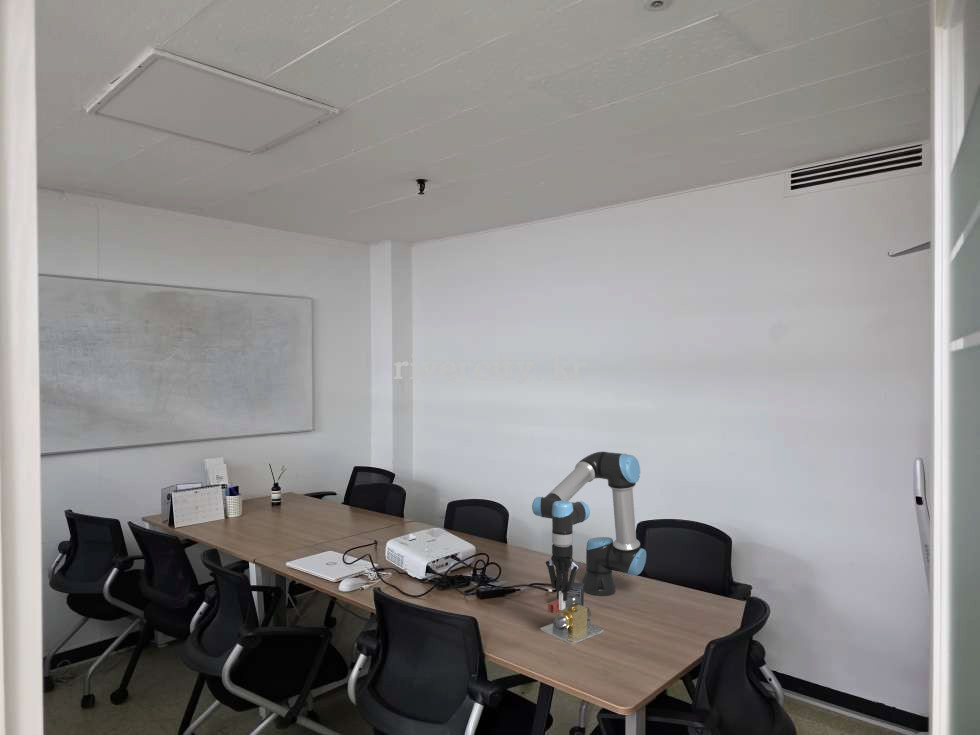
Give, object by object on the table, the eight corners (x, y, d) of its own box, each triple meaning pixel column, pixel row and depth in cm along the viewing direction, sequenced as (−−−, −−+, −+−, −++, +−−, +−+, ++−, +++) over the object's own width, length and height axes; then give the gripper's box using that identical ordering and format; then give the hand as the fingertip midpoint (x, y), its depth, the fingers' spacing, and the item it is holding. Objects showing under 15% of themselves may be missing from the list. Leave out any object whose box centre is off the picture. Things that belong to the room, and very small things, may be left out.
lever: (571, 600, 241) (571, 592, 241) (580, 603, 237) (580, 595, 237) (545, 611, 230) (546, 602, 230) (555, 614, 227) (555, 606, 227)
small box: (584, 607, 261) (584, 582, 261) (582, 613, 255) (582, 587, 255) (558, 604, 264) (559, 579, 264) (556, 610, 258) (556, 584, 258)
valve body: (571, 618, 249) (572, 593, 249) (603, 631, 237) (604, 605, 237) (540, 630, 238) (540, 603, 238) (571, 644, 225) (572, 617, 225)
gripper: (582, 544, 229) (582, 609, 229) (551, 539, 236) (551, 602, 236) (573, 549, 223) (573, 615, 223) (542, 543, 230) (541, 608, 230)
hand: (562, 608), depth 229 cm, fingers closed
